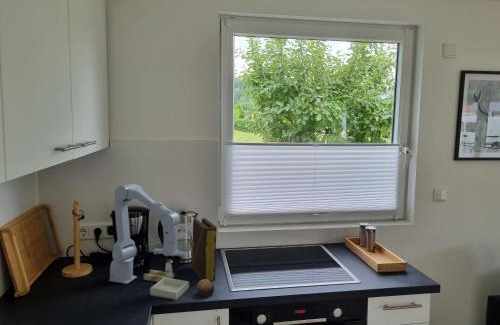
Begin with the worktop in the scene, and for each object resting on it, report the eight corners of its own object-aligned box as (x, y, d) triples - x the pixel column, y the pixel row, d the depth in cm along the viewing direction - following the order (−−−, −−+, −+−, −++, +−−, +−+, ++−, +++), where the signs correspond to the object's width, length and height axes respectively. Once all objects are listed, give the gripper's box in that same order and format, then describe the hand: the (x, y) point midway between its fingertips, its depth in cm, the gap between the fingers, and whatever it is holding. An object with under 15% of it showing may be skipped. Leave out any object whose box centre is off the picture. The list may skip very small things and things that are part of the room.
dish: (150, 295, 157) (150, 288, 156) (164, 284, 168) (164, 277, 168) (176, 299, 154) (176, 292, 153) (188, 288, 165) (188, 281, 165)
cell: (163, 276, 159) (163, 260, 158) (167, 273, 163) (168, 257, 162) (171, 278, 158) (171, 262, 157) (176, 274, 161) (176, 259, 161)
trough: (143, 279, 172) (143, 274, 172) (150, 274, 178) (150, 269, 178) (167, 283, 169) (167, 278, 169) (173, 278, 175) (173, 273, 174)
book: (218, 280, 174) (220, 227, 172) (201, 283, 171) (202, 229, 169) (204, 264, 194) (205, 216, 192) (188, 266, 191) (189, 217, 188)
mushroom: (193, 282, 163) (199, 274, 160) (209, 287, 166) (216, 279, 163) (192, 298, 156) (199, 289, 154) (209, 303, 159) (216, 294, 157)
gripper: (150, 241, 157) (149, 273, 158) (181, 245, 153) (181, 278, 154) (158, 237, 164) (158, 267, 165) (189, 240, 160) (188, 271, 161)
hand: (169, 272), depth 160 cm, fingers closed on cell, 4 cm apart
